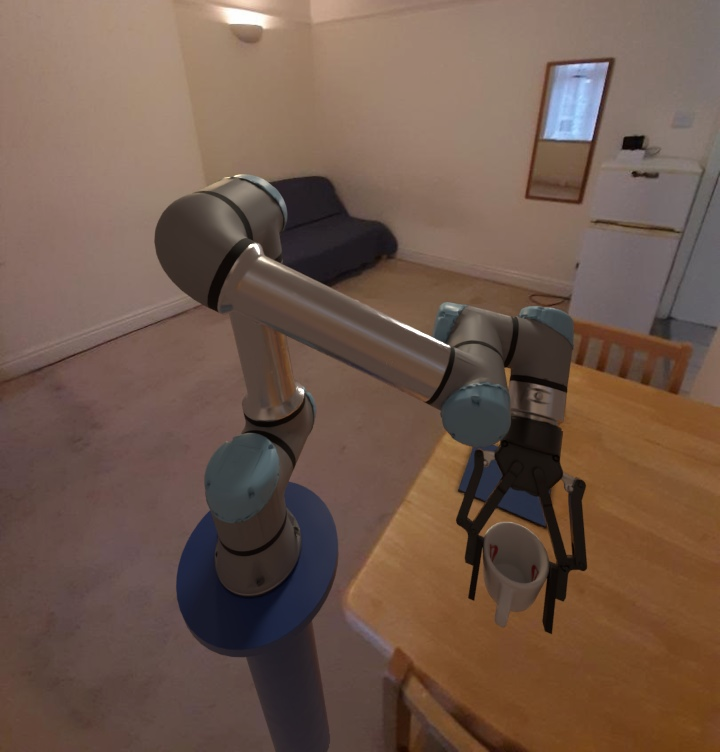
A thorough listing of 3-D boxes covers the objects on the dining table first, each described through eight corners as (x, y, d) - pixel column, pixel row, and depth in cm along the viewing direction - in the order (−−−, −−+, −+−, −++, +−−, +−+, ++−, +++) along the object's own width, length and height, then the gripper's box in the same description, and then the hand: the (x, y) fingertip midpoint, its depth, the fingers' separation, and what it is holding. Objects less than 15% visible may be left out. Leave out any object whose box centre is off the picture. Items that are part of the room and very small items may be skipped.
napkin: (458, 490, 80) (458, 489, 80) (475, 439, 91) (475, 438, 91) (545, 527, 73) (545, 526, 73) (553, 467, 84) (553, 466, 84)
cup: (530, 663, 47) (541, 628, 44) (463, 622, 51) (468, 587, 48) (544, 574, 56) (554, 538, 52) (486, 545, 59) (491, 510, 56)
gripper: (454, 397, 56) (419, 585, 49) (629, 442, 48) (614, 670, 42) (459, 401, 62) (428, 566, 56) (613, 440, 55) (597, 637, 49)
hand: (508, 610), depth 49 cm, fingers closed on cup, 8 cm apart
